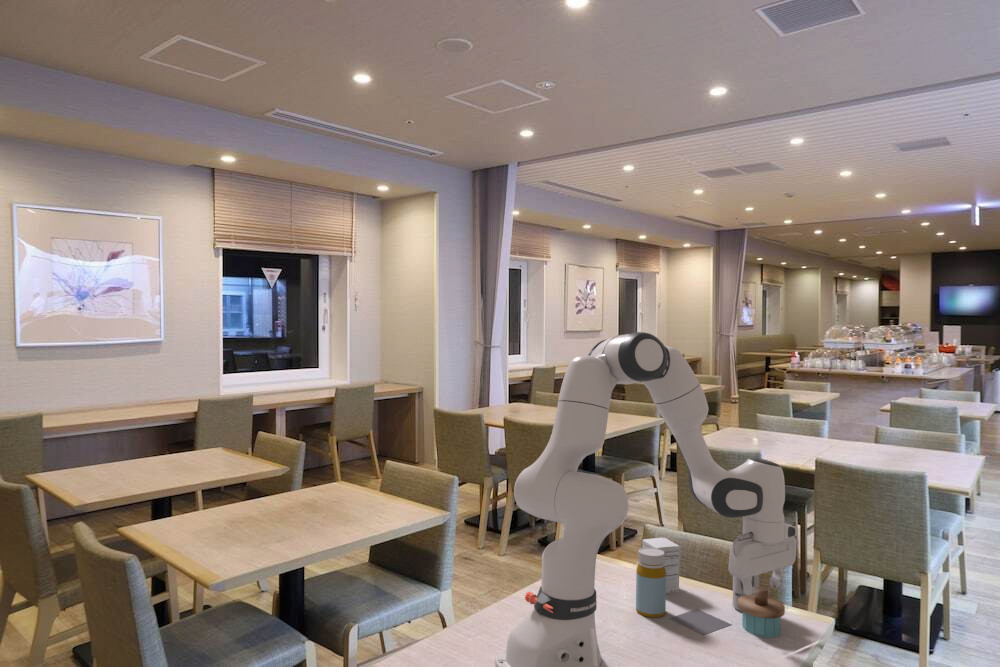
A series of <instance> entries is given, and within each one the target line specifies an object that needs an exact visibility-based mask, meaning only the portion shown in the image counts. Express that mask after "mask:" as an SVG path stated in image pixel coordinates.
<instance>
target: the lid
mask: <svg viewBox="0 0 1000 667" xmlns="http://www.w3.org/2000/svg"><path fill="white" fill-rule="evenodd" d="M738 607H739V609H740V610H742V611H743V612H745V613H747V614H749V615H752V616H756V617H761V618H779V617H781V618H782V617H784V616H785V613H786V612H785V611H786V610H785V609H786V608H785V605H784V603H783V602H781V601H780V600H777V599H775V598H773V597H769V591H768V590H767V589H766V588H760V587H759V588H756V589H755V595H750V596H749V595H744V596H741V597H739V598H738ZM743 612H742V613H743Z"/></svg>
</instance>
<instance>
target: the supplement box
mask: <svg viewBox="0 0 1000 667" xmlns="http://www.w3.org/2000/svg"><path fill="white" fill-rule="evenodd" d="M641 541H642V543H641V545H642V547H641V548H646V547H651V548H657V549H660V550H662V551H664V554H665V556H664V567H665V570H666V594H671V593H677V592H678V593H679V592H680V562H681V561H680V559H681V558H680V556H681V555H680V554H681V553H680V552H681V546H680V545H678V544H677V543H675V542H673V541H672V540H669V538H666V537H654V538H646V539H645V538H644V539H642V540H641Z"/></svg>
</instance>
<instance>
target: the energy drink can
mask: <svg viewBox="0 0 1000 667" xmlns="http://www.w3.org/2000/svg"><path fill="white" fill-rule="evenodd" d="M750 582H751V585H752V586H753V587H755V589H756V588H760V574H759V575H755V576H752V581H750ZM744 595H746V594H745V593H744V586H743V584H742V581H741V579H740V578H737V577H735V576H732V606H733V607H734V609H735V610H736V611H738V612H741V613H743V611H742V610H740V609H739V607H738V598H739V597H741V596H744ZM753 595H755V590H754V594H753Z"/></svg>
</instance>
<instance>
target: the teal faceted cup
mask: <svg viewBox="0 0 1000 667" xmlns="http://www.w3.org/2000/svg"><path fill="white" fill-rule="evenodd" d="M781 618H782V617H779V618H761V617H756V616H752V615H749V614H747V613H745V612H742V619H741V620H742V629H744V631H745V632H747V633H749V634H750V635H753V636H755V637H762V638H776V637H778V636H780V634H781V628H782V627H781V622H782V621H781Z"/></svg>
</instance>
